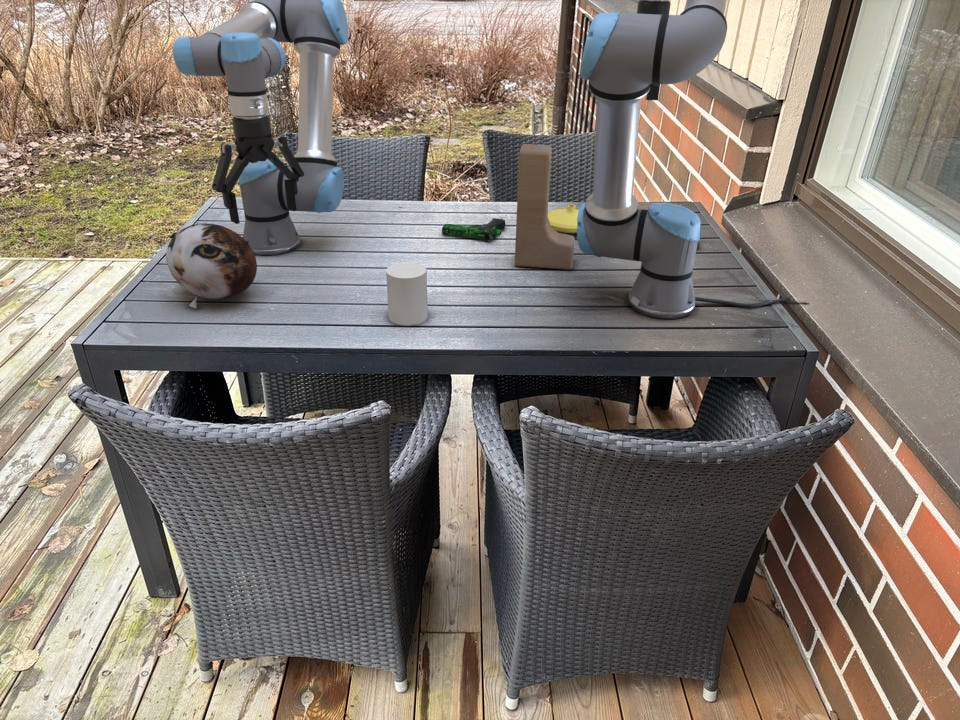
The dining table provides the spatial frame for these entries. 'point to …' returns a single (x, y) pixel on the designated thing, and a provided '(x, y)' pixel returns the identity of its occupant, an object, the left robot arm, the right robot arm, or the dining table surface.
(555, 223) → the yellow pot lid
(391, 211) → the dining table surface
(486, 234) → the handgun
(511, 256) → the dining table surface
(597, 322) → the dining table surface
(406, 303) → the canister
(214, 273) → the cat face balloon
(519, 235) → the decorative block
